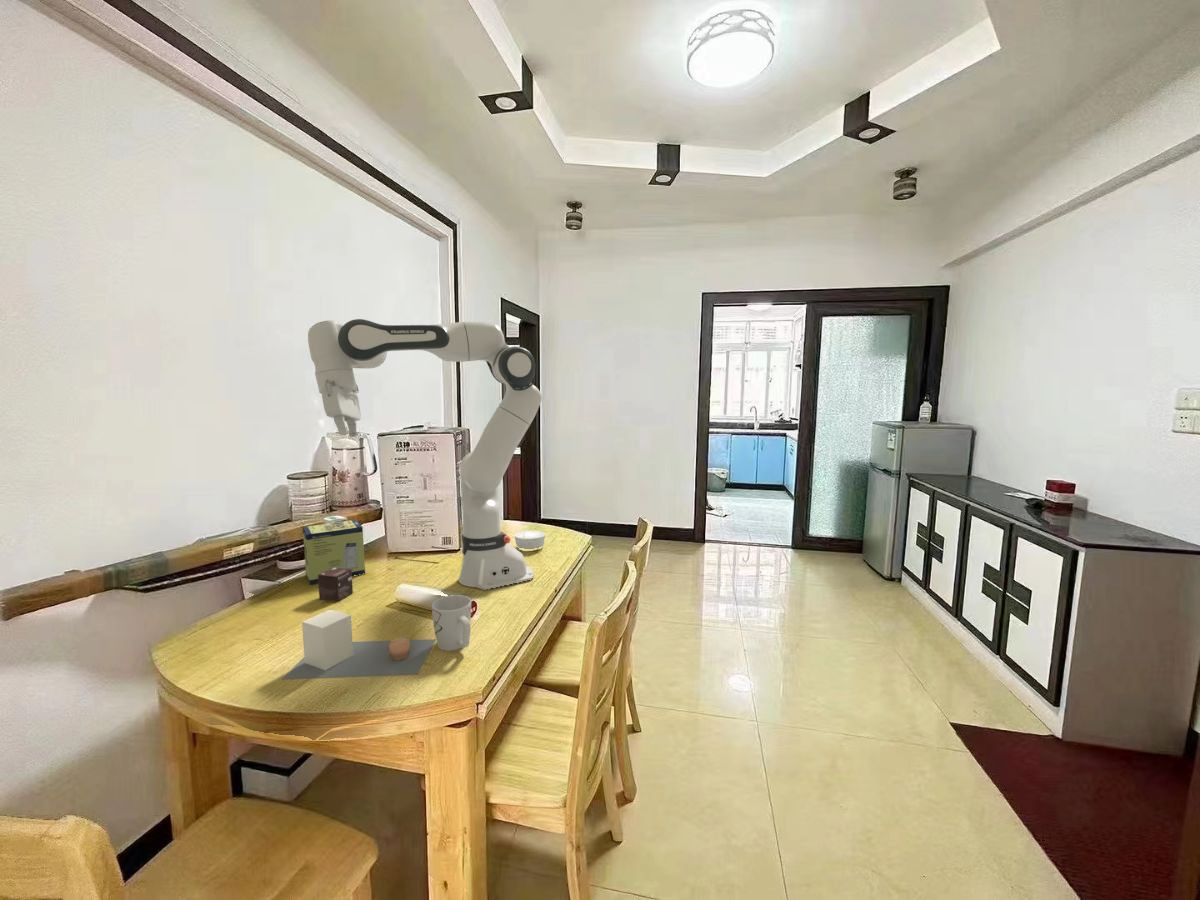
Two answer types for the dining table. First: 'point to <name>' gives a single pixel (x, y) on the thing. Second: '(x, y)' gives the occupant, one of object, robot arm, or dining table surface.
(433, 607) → the mug
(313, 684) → the dining table surface
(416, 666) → the slate mat
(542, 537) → the ramekin
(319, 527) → the protein box
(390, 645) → the orange-brown rounded lump
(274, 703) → the dining table surface
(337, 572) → the box
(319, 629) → the white upright block
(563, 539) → the dining table surface
